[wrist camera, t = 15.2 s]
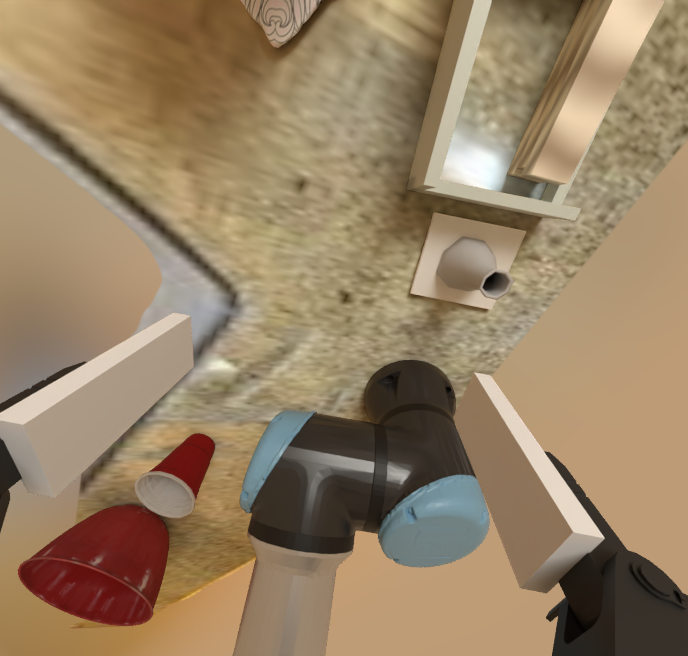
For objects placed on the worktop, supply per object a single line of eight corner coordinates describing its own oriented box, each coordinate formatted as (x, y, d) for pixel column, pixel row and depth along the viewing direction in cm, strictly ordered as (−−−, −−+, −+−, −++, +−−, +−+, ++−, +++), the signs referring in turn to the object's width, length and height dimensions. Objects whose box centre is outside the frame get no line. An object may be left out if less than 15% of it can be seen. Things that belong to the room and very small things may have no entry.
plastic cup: (209, 418, 54) (170, 472, 43) (236, 455, 58) (205, 513, 47) (165, 428, 57) (117, 483, 46) (194, 464, 61) (156, 521, 50)
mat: (489, 307, 40) (491, 309, 40) (409, 291, 40) (410, 293, 40) (523, 230, 36) (526, 231, 35) (433, 212, 36) (434, 212, 35)
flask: (461, 225, 35) (493, 234, 26) (505, 254, 36) (550, 272, 27) (426, 273, 38) (445, 296, 29) (468, 299, 39) (498, 328, 30)
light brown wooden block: (535, 186, 34) (567, 184, 28) (504, 178, 34) (530, 174, 28) (627, -4, 26) (695, -57, 21) (589, -16, 26) (646, -72, 21)
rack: (542, 217, 35) (621, 225, 24) (406, 189, 35) (423, 184, 24) (667, -52, 25) (899, -248, 14) (476, -93, 25) (562, -321, 14)
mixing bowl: (136, 556, 80) (87, 632, 66) (61, 496, 70) (-15, 570, 56) (213, 543, 74) (177, 623, 60) (144, 474, 63) (81, 551, 50)
